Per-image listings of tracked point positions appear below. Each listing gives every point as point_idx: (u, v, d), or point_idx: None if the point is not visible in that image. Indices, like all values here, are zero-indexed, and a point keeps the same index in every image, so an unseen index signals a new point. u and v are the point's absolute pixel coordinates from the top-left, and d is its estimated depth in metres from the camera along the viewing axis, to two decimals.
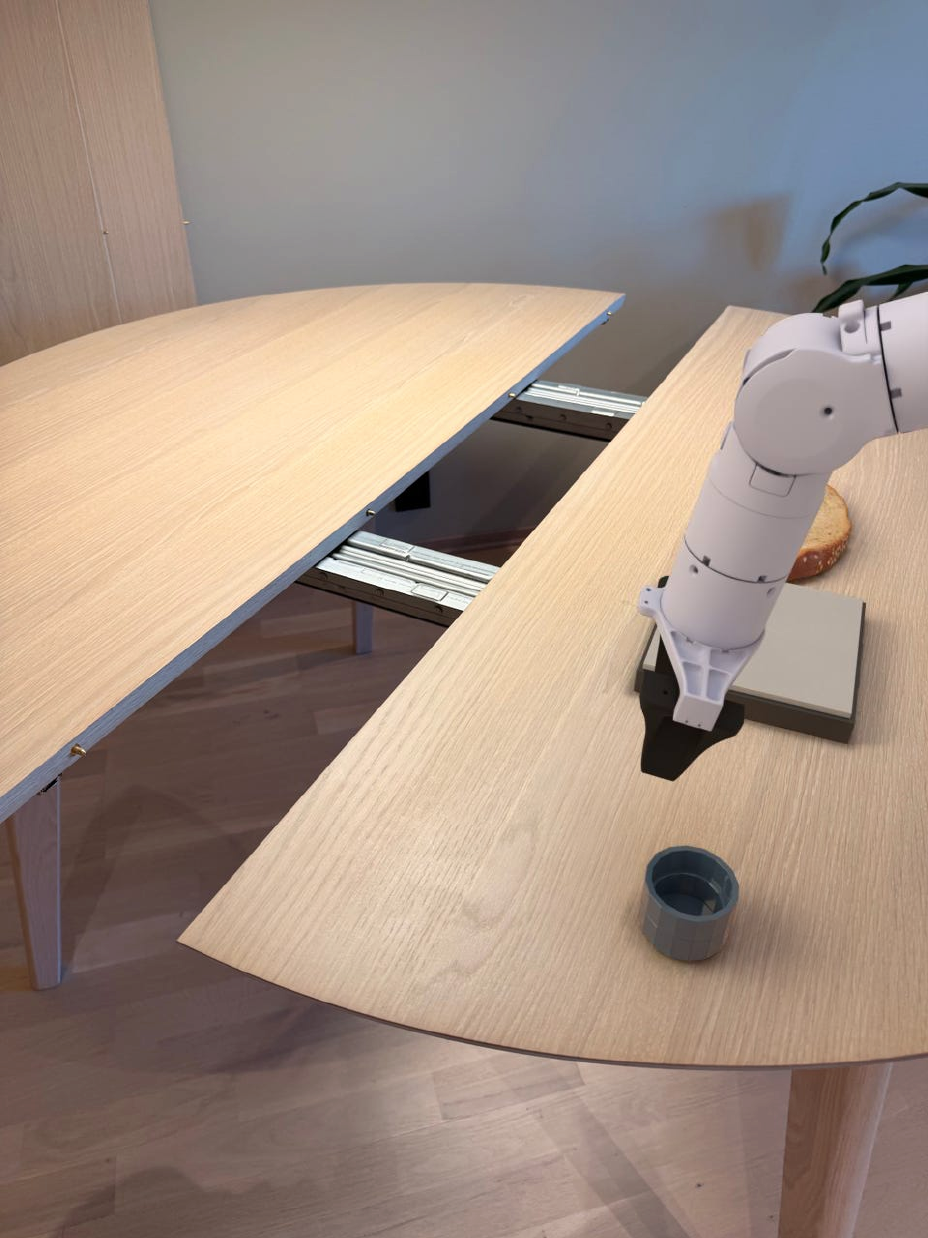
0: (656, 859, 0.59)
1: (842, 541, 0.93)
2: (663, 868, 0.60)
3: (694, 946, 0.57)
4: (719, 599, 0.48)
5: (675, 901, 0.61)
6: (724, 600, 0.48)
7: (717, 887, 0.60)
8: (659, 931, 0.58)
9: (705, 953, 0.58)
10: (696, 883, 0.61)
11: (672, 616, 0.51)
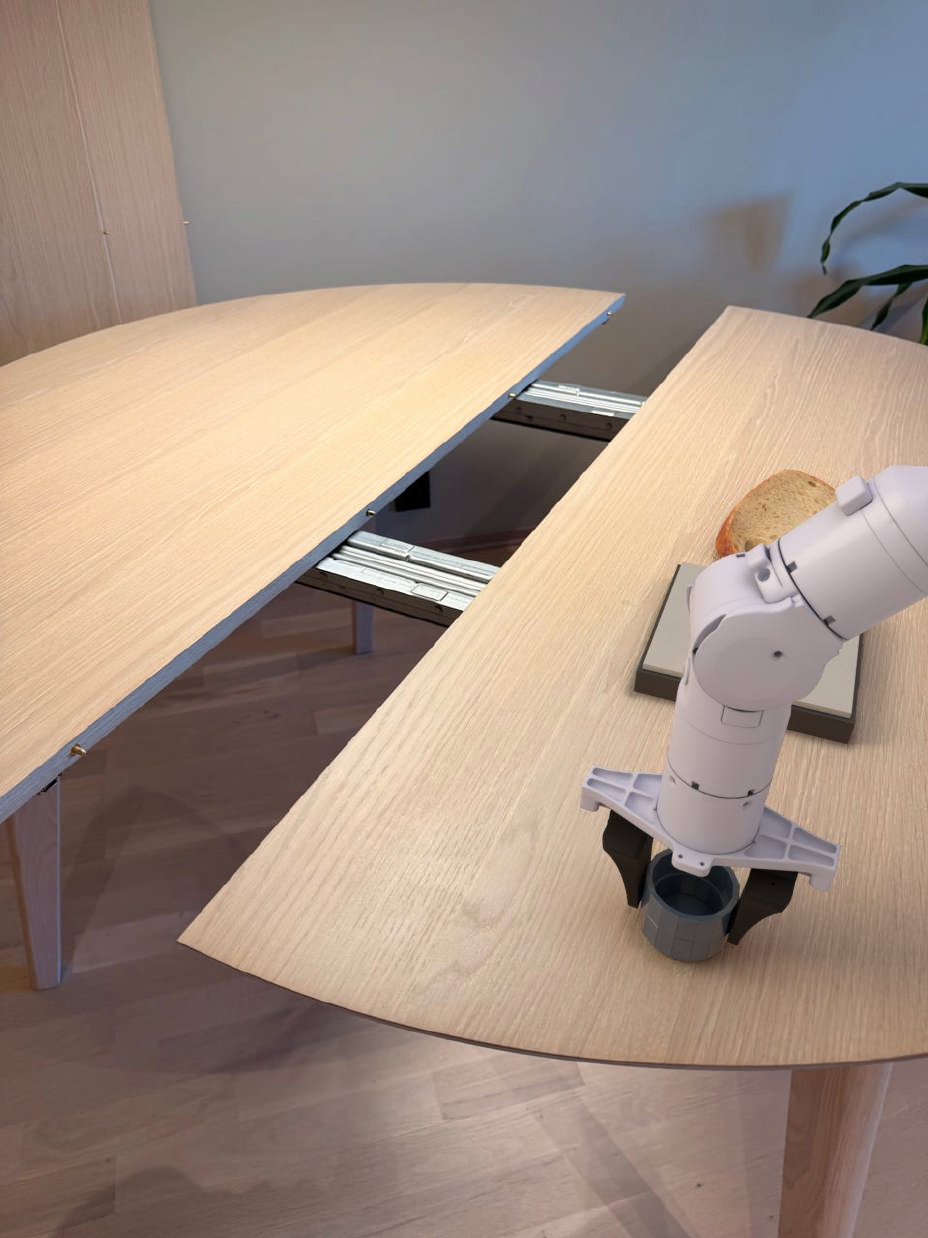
0: (657, 859, 0.59)
1: None
2: (664, 868, 0.60)
3: (695, 947, 0.57)
4: None
5: (676, 901, 0.61)
6: (767, 795, 0.51)
7: (718, 887, 0.60)
8: (660, 931, 0.58)
9: (706, 953, 0.58)
10: (697, 883, 0.61)
11: (732, 847, 0.52)
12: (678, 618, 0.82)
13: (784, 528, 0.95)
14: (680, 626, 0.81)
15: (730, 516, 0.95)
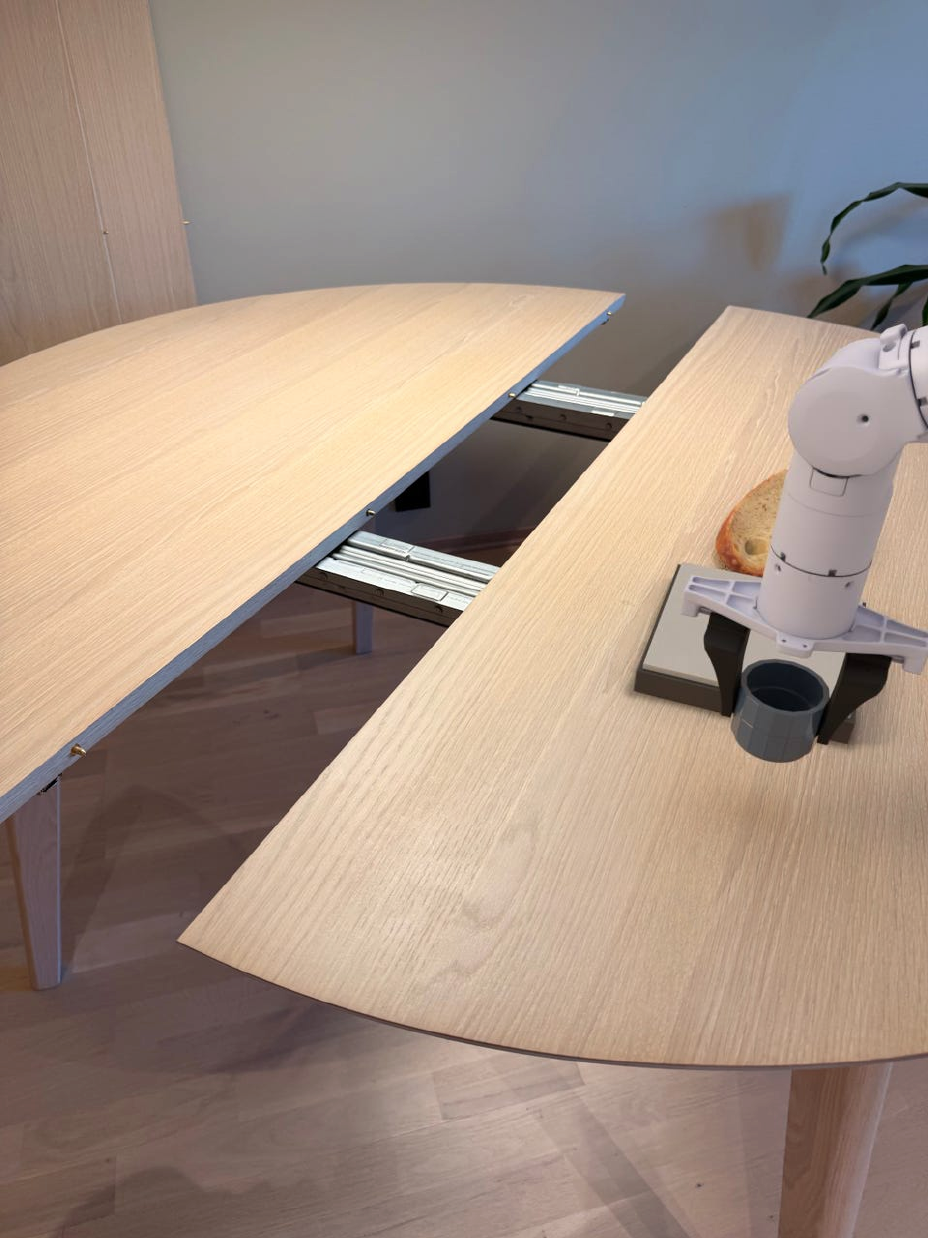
0: (749, 669, 0.63)
1: None
2: (754, 681, 0.64)
3: (788, 744, 0.61)
4: (864, 584, 0.55)
5: None
6: (865, 581, 0.55)
7: (805, 697, 0.64)
8: (755, 732, 0.62)
9: (798, 752, 0.62)
10: (784, 696, 0.65)
11: (832, 632, 0.56)
12: (678, 618, 0.82)
13: None
14: (680, 626, 0.81)
15: (730, 516, 0.95)
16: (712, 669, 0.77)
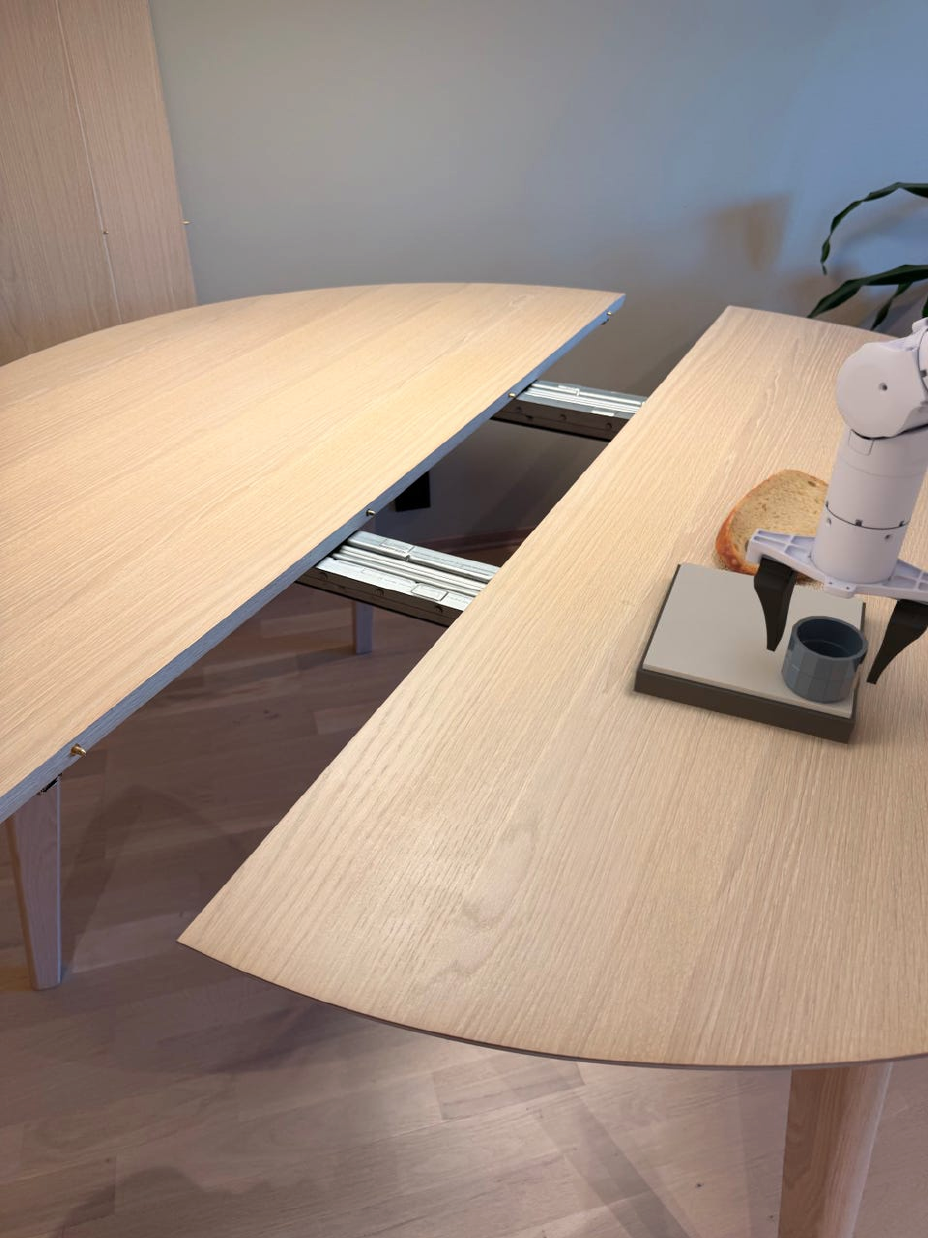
0: (800, 622, 0.74)
1: None
2: (804, 633, 0.75)
3: (829, 686, 0.72)
4: (903, 539, 0.65)
5: None
6: (904, 537, 0.65)
7: (848, 650, 0.75)
8: (800, 674, 0.73)
9: (837, 694, 0.72)
10: (830, 649, 0.76)
11: (873, 578, 0.66)
12: (678, 618, 0.82)
13: (784, 528, 0.95)
14: (680, 626, 0.81)
15: (730, 516, 0.95)
16: (712, 669, 0.77)
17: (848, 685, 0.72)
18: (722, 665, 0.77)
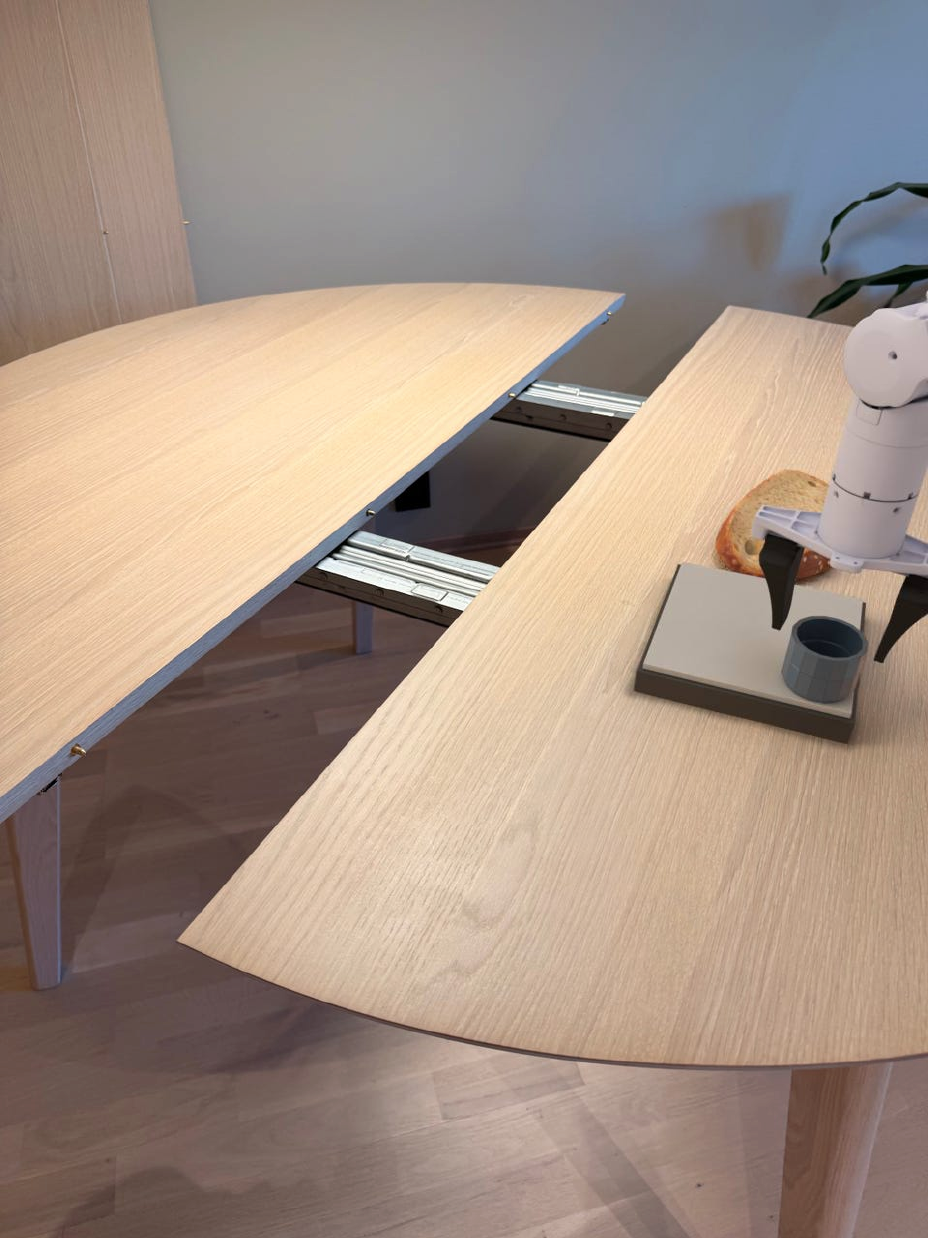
0: (800, 622, 0.74)
1: None
2: (804, 633, 0.75)
3: (829, 686, 0.72)
4: (911, 513, 0.64)
5: None
6: (913, 510, 0.64)
7: (848, 650, 0.75)
8: (800, 674, 0.73)
9: (837, 694, 0.72)
10: (830, 649, 0.76)
11: (881, 552, 0.65)
12: (678, 618, 0.82)
13: None
14: (680, 626, 0.81)
15: (730, 516, 0.95)
16: (712, 669, 0.77)
17: (848, 685, 0.72)
18: (722, 665, 0.77)
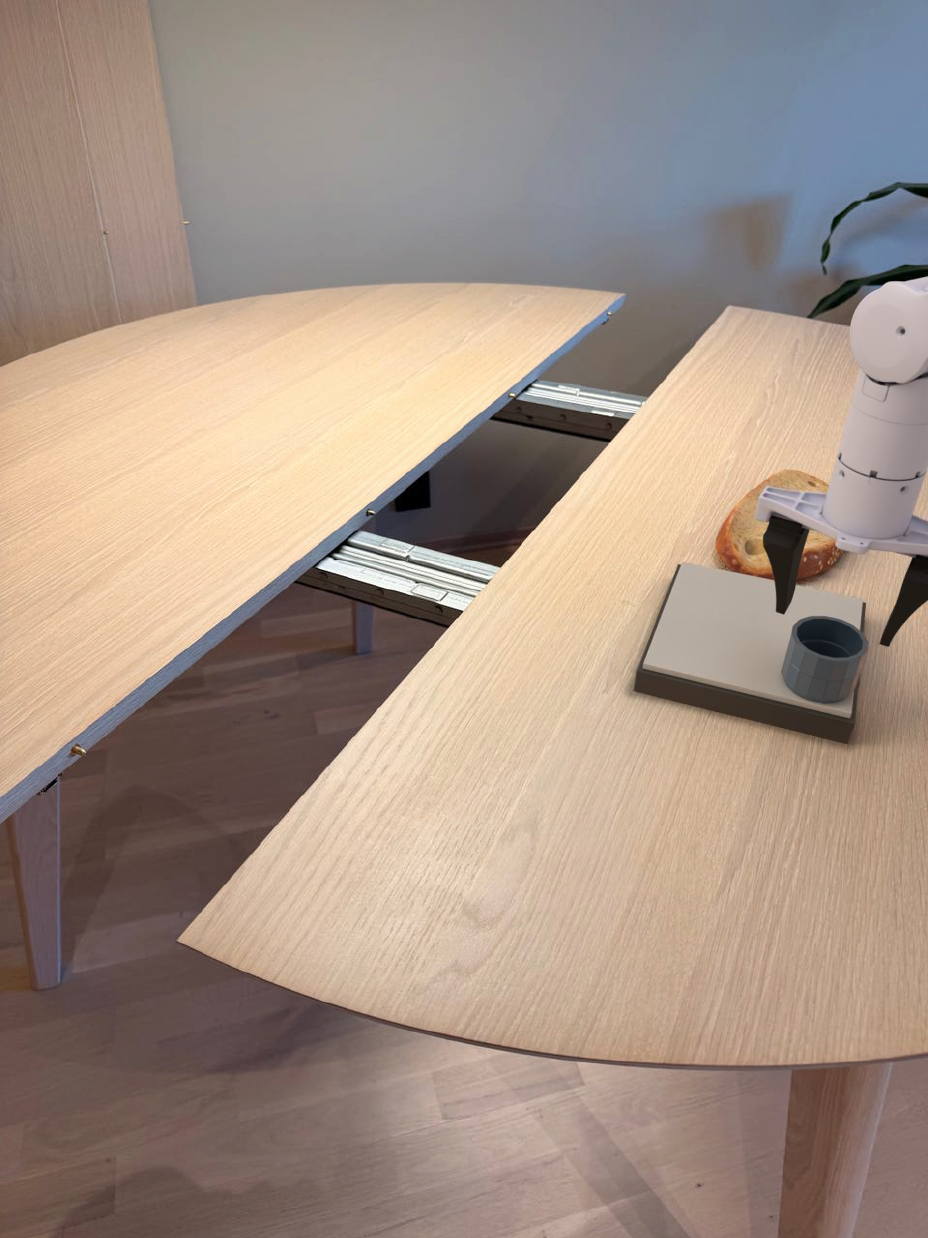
0: (800, 622, 0.74)
1: None
2: (804, 633, 0.75)
3: (829, 686, 0.72)
4: (918, 492, 0.63)
5: None
6: None
7: (848, 650, 0.75)
8: (800, 674, 0.73)
9: (837, 694, 0.72)
10: (830, 649, 0.76)
11: (887, 533, 0.64)
12: (678, 618, 0.82)
13: None
14: (680, 626, 0.81)
15: (730, 516, 0.95)
16: (712, 669, 0.77)
17: (848, 685, 0.72)
18: (722, 665, 0.77)
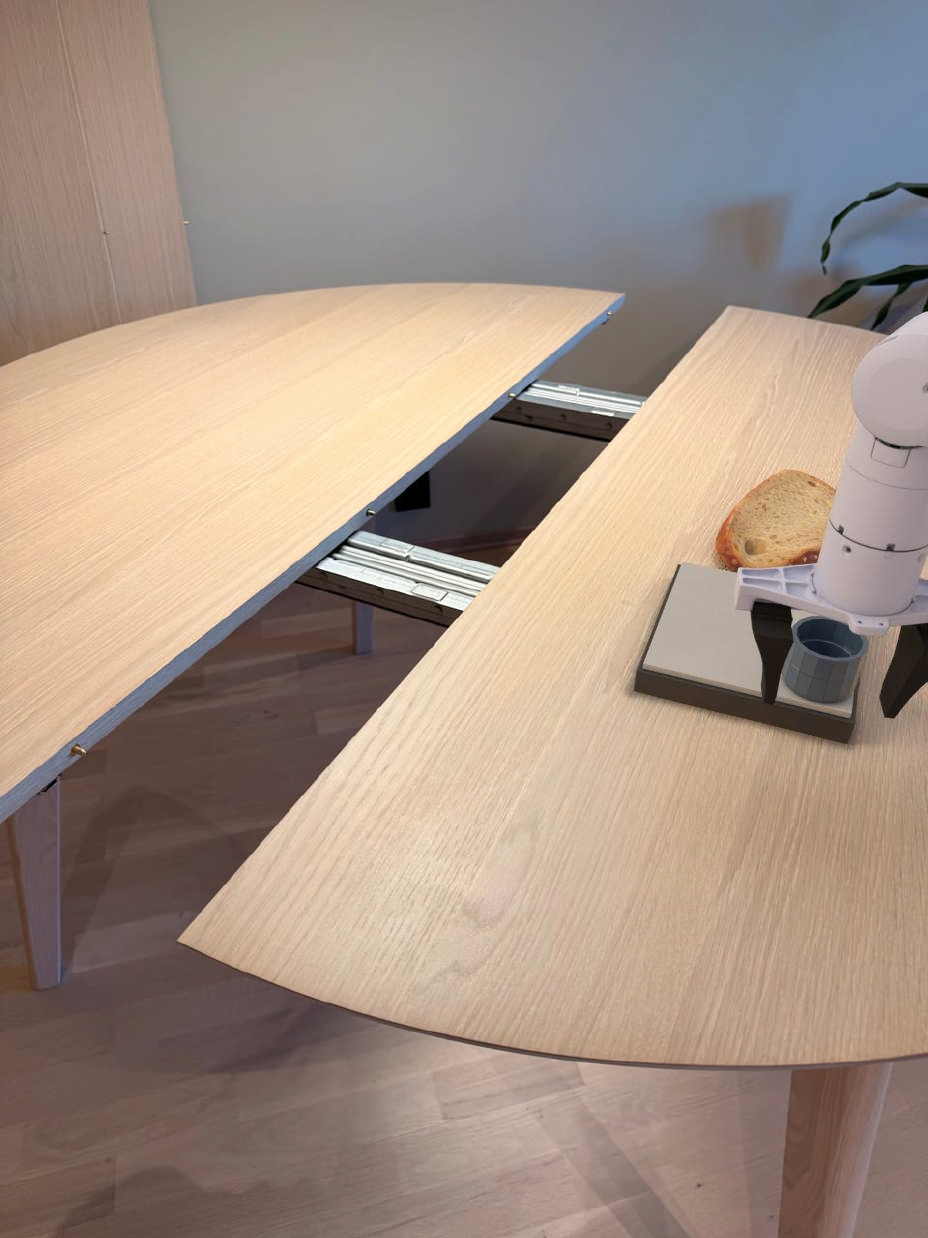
0: (800, 622, 0.74)
1: None
2: (804, 633, 0.75)
3: (829, 686, 0.72)
4: None
5: None
6: None
7: (848, 650, 0.75)
8: (800, 674, 0.73)
9: (837, 694, 0.72)
10: (830, 649, 0.76)
11: (902, 605, 0.55)
12: (678, 618, 0.82)
13: (784, 528, 0.95)
14: (680, 626, 0.81)
15: (730, 516, 0.95)
16: (712, 669, 0.77)
17: (848, 685, 0.72)
18: (722, 665, 0.77)
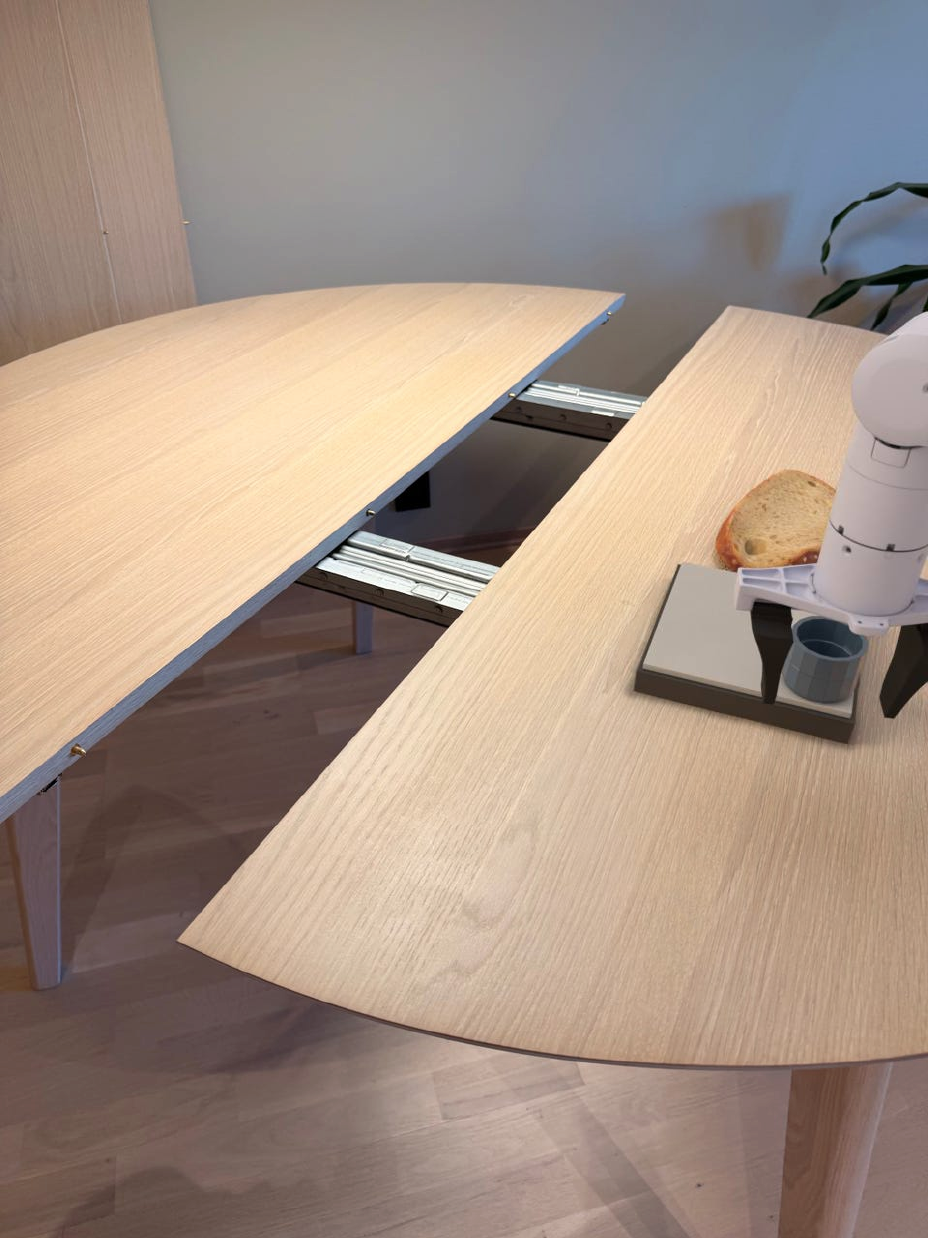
0: (800, 622, 0.74)
1: None
2: (804, 633, 0.75)
3: (829, 686, 0.72)
4: None
5: None
6: None
7: (848, 650, 0.75)
8: (800, 674, 0.73)
9: (837, 694, 0.72)
10: (830, 649, 0.76)
11: (902, 606, 0.55)
12: (678, 618, 0.82)
13: (784, 528, 0.95)
14: (680, 626, 0.81)
15: (730, 516, 0.95)
16: (712, 669, 0.77)
17: (848, 685, 0.72)
18: (722, 665, 0.77)
